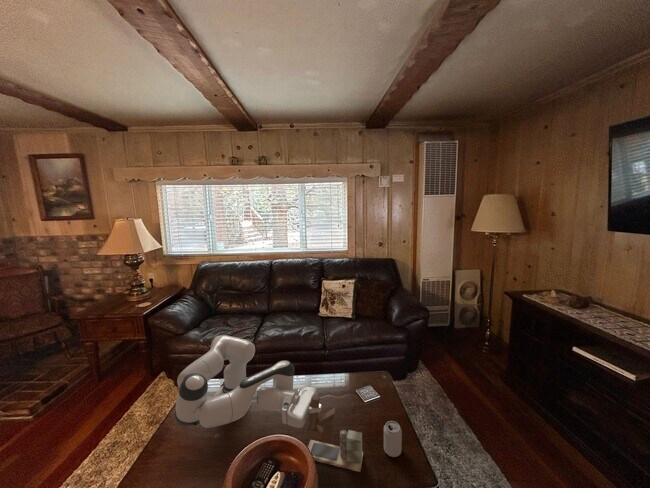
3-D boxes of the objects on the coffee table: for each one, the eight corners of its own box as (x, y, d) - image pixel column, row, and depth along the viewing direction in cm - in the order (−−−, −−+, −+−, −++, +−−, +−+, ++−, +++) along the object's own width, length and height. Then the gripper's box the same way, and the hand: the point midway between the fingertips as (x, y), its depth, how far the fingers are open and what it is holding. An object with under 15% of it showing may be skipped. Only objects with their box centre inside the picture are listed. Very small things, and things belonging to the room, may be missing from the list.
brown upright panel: (330, 443, 112) (335, 405, 110) (306, 437, 114) (310, 399, 111) (332, 435, 116) (336, 399, 113) (308, 430, 118) (312, 393, 115)
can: (381, 443, 119) (381, 419, 118) (397, 442, 120) (398, 418, 118) (386, 459, 112) (386, 434, 110) (404, 457, 113) (404, 432, 111)
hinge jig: (304, 457, 114) (303, 432, 112) (310, 441, 121) (309, 417, 120) (360, 472, 107) (360, 445, 105) (363, 454, 115) (363, 429, 113)
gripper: (300, 393, 127) (327, 398, 123) (281, 427, 107) (313, 434, 103) (299, 380, 126) (327, 385, 122) (280, 413, 106) (313, 420, 103)
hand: (321, 408), depth 113 cm, fingers closed, pressing on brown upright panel
